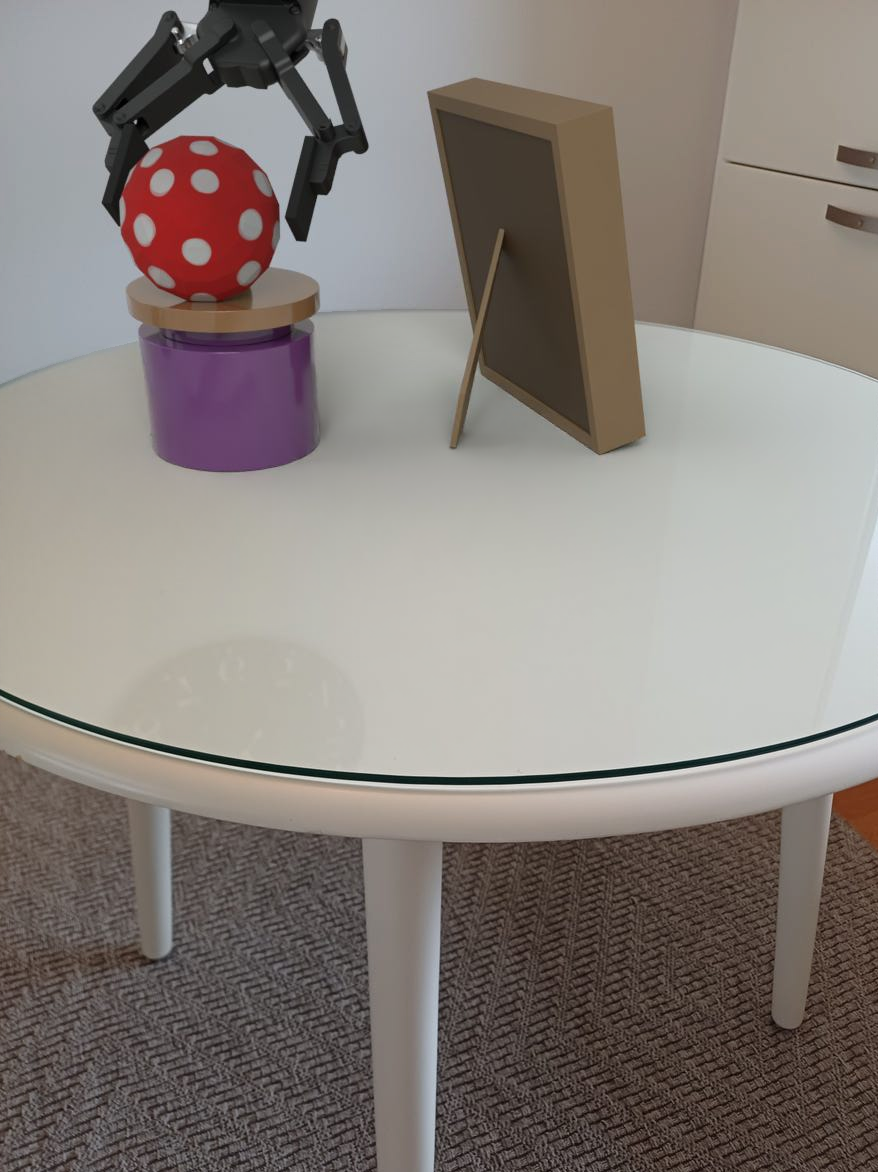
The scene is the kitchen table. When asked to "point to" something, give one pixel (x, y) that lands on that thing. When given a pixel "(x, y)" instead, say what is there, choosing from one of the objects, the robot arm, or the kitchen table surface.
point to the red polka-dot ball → (199, 218)
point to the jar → (231, 373)
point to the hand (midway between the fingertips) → (203, 223)
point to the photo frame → (542, 255)
